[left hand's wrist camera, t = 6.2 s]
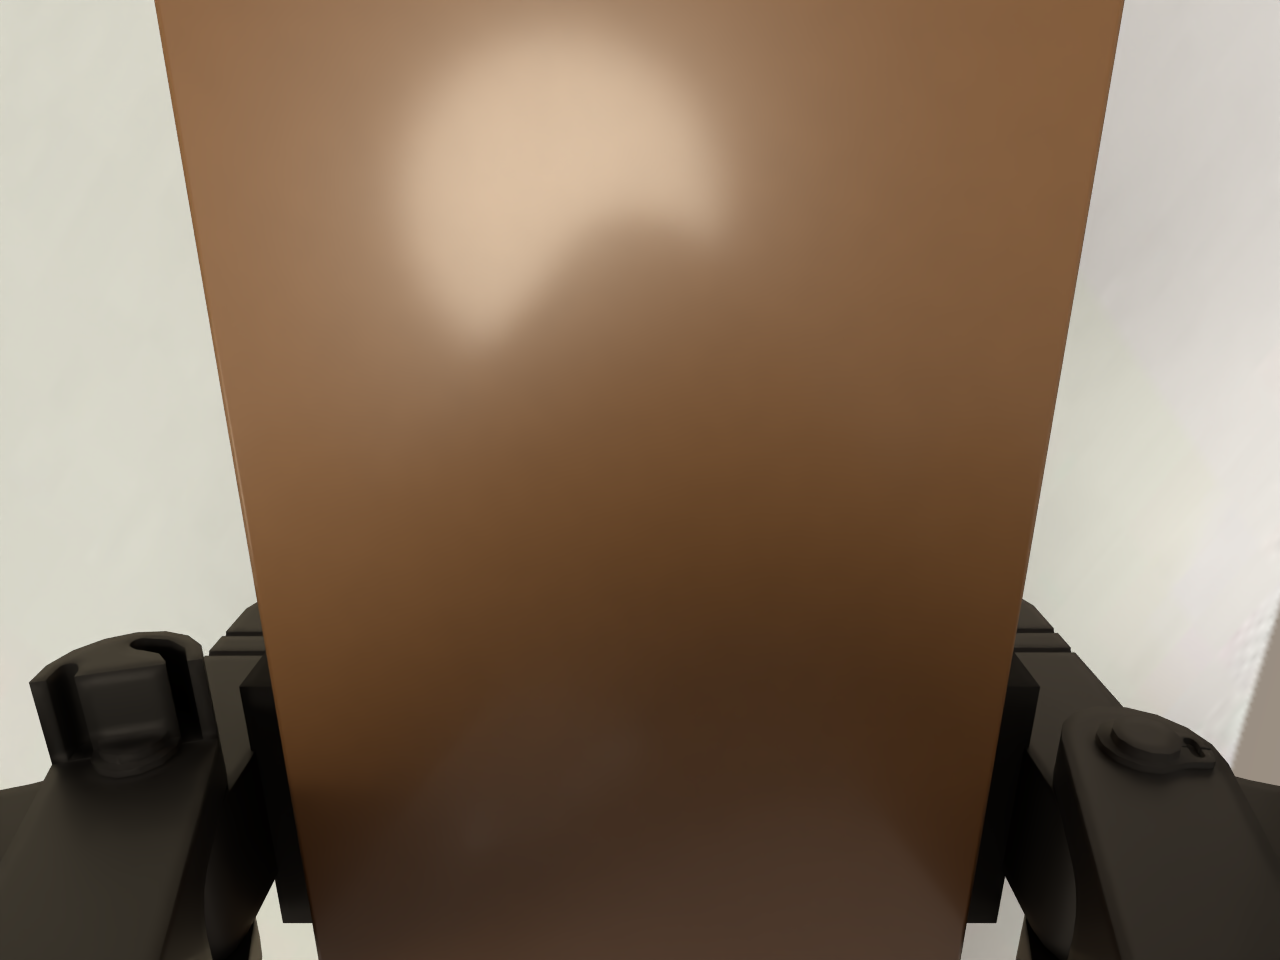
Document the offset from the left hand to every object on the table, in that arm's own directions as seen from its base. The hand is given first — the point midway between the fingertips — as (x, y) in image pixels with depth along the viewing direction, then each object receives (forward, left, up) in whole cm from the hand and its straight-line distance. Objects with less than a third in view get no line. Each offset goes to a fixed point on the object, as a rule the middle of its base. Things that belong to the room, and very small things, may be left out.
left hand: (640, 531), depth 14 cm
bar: (+10, 0, -1) cm, 10 cm away
